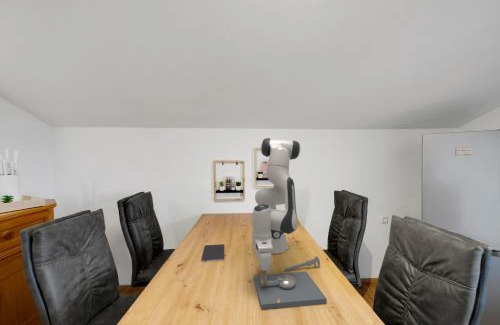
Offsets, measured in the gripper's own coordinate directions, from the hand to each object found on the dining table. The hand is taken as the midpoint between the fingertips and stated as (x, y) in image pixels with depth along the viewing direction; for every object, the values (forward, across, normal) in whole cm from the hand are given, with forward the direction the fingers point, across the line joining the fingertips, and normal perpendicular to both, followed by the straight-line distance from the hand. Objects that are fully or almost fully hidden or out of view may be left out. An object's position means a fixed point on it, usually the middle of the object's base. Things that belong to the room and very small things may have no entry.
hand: (262, 270), depth 100 cm
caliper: (+6, -10, +22) cm, 25 cm away
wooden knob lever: (+3, +6, +6) cm, 9 cm away
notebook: (+6, -36, -23) cm, 43 cm away
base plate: (+6, +7, +10) cm, 13 cm away
